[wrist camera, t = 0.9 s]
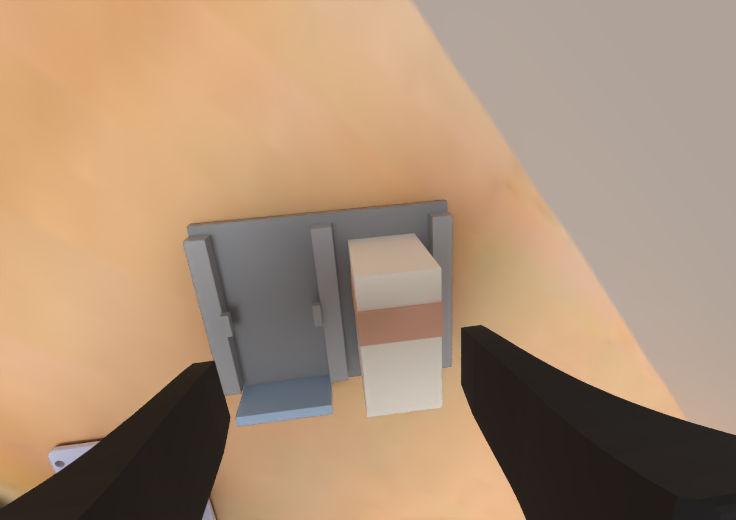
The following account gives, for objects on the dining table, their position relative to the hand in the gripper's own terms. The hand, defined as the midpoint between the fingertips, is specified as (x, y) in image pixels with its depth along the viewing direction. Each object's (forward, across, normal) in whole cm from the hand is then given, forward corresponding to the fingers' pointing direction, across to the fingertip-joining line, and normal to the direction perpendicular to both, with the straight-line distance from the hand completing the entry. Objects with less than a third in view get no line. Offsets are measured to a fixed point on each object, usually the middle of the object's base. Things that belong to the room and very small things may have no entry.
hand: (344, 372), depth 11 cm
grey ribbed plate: (+10, +1, +2) cm, 10 cm away
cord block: (+9, -2, +2) cm, 10 cm away
